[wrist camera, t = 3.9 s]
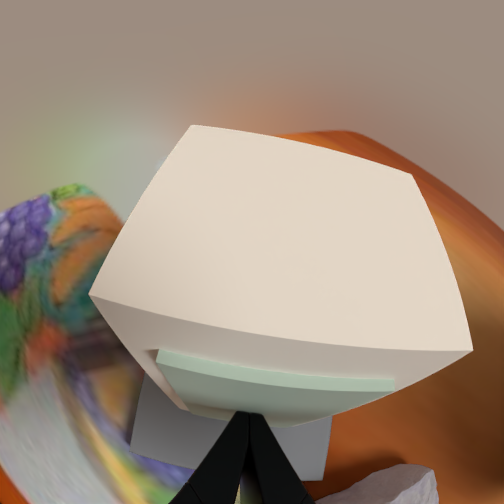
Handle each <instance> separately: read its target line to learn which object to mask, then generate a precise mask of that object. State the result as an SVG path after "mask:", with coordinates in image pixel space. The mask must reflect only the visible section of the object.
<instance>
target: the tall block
mask: <svg viewBox="0 0 504 504" xmlns="http://www.w3.org/2000/svg"><path fill="white" fill-rule="evenodd" d="M88 295H89V296H90V298H91V299H92V301H93V302H94V304H95V305H96V307H97V308H98V310H99V311H100V313H101V314H102V316H103V317H104V319H105V320H106V321H107V323H108V324H109V326H110V327H111V328H112V330H113V331H114V332H115V334H116V335H117V337H118V338H119V339H120V340H121V342H122V343H123V344H124V346H125V347H126V348H127V350H128V351H129V352H130V353H131V355H132V356H133V357H134V358H135V360H136V361H137V362H138V363H139V364H140V366H141V367H142V368H143V369H144V370H145V371H146V373H147V374H148V375H149V376H150V377H151V378H152V380H153V381H154V382H155V383H156V384H157V385H158V386H159V387H160V388H161V390H162V391H163V392H164V393H165V394H166V395H167V396H168V397H169V398H170V399H171V400H172V401H173V402H174V403H175V404H176V405H177V406H178V407H179V408H180V409H182V410H187V411H190V412H191V413H192V414H194V415H199V416H203V417H208V418H214V419H219V420H225V421H230V419H231V418H232V416H233V415H234V413H235V412H236V411H244V412H248V413H249V414H250V413H259V414H262V415H263V416H264V418H265V419H266V421H267V423H268V425H269V427H279V428H287V427H291V426H296V425H300V424H304V423H308V422H312V421H315V420H319V419H322V418H326V417H329V416H332V415H335V414H338V413H341V412H344V411H347V410H350V409H353V408H356V407H359V406H361V405H364V404H367V403H369V402H372V401H375V400H377V399H380V398H382V397H384V396H387V395H389V394H392V393H394V392H396V391H398V390H401V389H403V388H405V387H407V386H409V385H412V384H414V383H416V382H418V381H420V380H422V379H424V378H426V377H428V376H430V375H432V374H434V373H435V372H437V371H439V370H441V369H443V368H445V367H446V366H448V365H450V364H452V363H453V362H455V361H457V360H458V359H460V358H462V357H463V356H465V355H467V354H468V353H470V352H472V351H473V346H472V341H471V336H470V331H469V327H468V322H467V318H466V314H465V310H464V306H463V303H462V299H461V295H460V292H459V289H458V285H457V282H456V279H455V276H454V273H453V270H452V267H451V264H450V261H449V258H448V255H447V253H446V250H445V247H444V245H443V242H442V239H441V237H440V234H439V232H438V230H437V227H436V225H435V223H434V220H433V218H432V216H431V213H430V211H429V209H428V207H427V205H426V203H425V200H424V198H423V196H422V194H421V192H420V190H419V188H418V186H417V184H416V182H415V180H414V178H413V177H412V175H411V174H408V173H406V172H403V171H400V170H397V169H394V168H391V167H388V166H385V165H382V164H379V163H376V162H373V161H369V160H366V159H363V158H360V157H356V156H353V155H349V154H346V153H342V152H338V151H334V150H331V149H327V148H323V147H319V146H315V145H310V144H306V143H302V142H297V141H293V140H288V139H283V138H278V137H273V136H267V135H262V134H256V133H250V132H244V131H237V130H231V129H224V128H216V127H208V126H199V125H191V126H190V127H189V129H188V130H187V131H186V133H185V134H184V135H183V137H182V138H181V139H180V141H179V142H178V144H177V145H176V146H175V147H174V149H173V150H172V152H171V153H170V154H169V156H168V157H167V159H166V160H165V162H164V163H163V164H162V166H161V167H160V169H159V170H158V172H157V173H156V175H155V176H154V178H153V179H152V181H151V182H150V184H149V185H148V187H147V188H146V190H145V192H144V193H143V195H142V196H141V198H140V199H139V201H138V203H137V204H136V206H135V208H134V209H133V211H132V213H131V214H130V216H129V218H128V219H127V221H126V223H125V224H124V226H123V228H122V230H121V231H120V233H119V235H118V237H117V238H116V240H115V242H114V244H113V246H112V248H111V250H110V251H109V253H108V255H107V257H106V259H105V261H104V263H103V265H102V267H101V269H100V271H99V273H98V275H97V277H96V279H95V281H94V283H93V285H92V287H91V289H90V292H89V294H88Z"/></svg>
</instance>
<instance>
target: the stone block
mask: <svg viewBox="0 0 504 504" xmlns="http://www.w3.org/2000/svg"><path fill="white" fill-rule="evenodd" d="M436 486H437V484H436V479H435V475H434V471H433V470H432V469H430V468H428V467H425V466H422V465H417V464H398V465H395V466H393V467H390V468H387V469H384V470H379V471H377V472H373V473H371V474H370V475H369V476H367V477H366V478H364V479H363V480H361V481H359V482H356V483H355V484H353V485H352V486H351V487H350V488H348V489H346V490H343V491H341V492H339V493H334V494H332V495H328V496H326V497H324V498H321V499H319V500H317V501H315V503H316V504H438V501H439V498H438V492H437V490H436Z"/></svg>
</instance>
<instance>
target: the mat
mask: <svg viewBox="0 0 504 504" xmlns="http://www.w3.org/2000/svg"><path fill="white" fill-rule="evenodd" d="M332 416H333V415H332ZM332 416H329V417H326V418H322V419H319V420H315V421H312V422H308V423H304V424H300V425H296V426H291V427H287V428H279V427H270V428H271V430H272V432H273V434H274V436H275V437H276V439H277V441H278V443H279V444H280V446H281V448H282V450H283V451H284V453H285V455H286V456H287V458H288V460H289V461H290V463H291V465H292V466H293V468H294V470H295V471H296V473H297V475H298V476H299V478H300V480H301V481H317V480H322V479H323V474H324V469H325V463H326V457H327V451H328V445H329V439H330V432H331V424H332ZM228 423H229V421H225V420H219V419H214V418H208V417H203V416H199V415H194V414H192V413H191V412H190V411H187V410H182V409H180V408H179V407H178V406H177V405H176V404H175V403H174V402H173V401H172V400H171V399H170V398H169V397H168V396H167V395H166V394H165V393H164V392H163V391H162V390H161V388H160V387H159V386H158V385H157V384H156V383H155V382H154V381H153V380H152V378H151V377H150V376H149V375H148V374H147V373H146V371H145V373H144V378H143V382H142V387H141V391H140V396H139V401H138V406H137V411H136V416H135V422H134V427H133V433H132V439H131V445H130V451H129V452H132V453H135V454H138V455H141V456H144V457H147V458H150V459H154V460H157V461H161V462H164V463H168V464H172V465H176V466H180V467H184V468H189V469H194V470H196V469H197V467H198V466H199V465H200V463H201V462H202V460H203V459H204V458H205V456H206V455H207V453H208V452H209V450H210V449H211V448H212V446H213V445H214V443H215V442H216V440H217V439H218V437H219V436H220V434H221V433H222V432H223V430H224V429H225V427H226V426H227V424H228Z"/></svg>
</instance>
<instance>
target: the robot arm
mask: <svg viewBox="0 0 504 504" xmlns="http://www.w3.org/2000/svg"><path fill="white" fill-rule="evenodd" d="M239 484H240V503H241V504H316V503H315V501H314V500H313V498H312V497H311V495H310V494H307V493H308V491H307V489H306V488H305V486H304V484H303V483H302V481H301V480H300V478H299V476H298V475H297V473H296V471H295V470H294V468H293V466H292V465H291V463H290V461H289V460H288V458H287V456H286V455H285V453H284V451H283V450H282V448H281V446H280V444H279V443H278V441H277V439H276V437H275V436H274V434H273V432H272V430H271V428H270V427H269V425H268V423H267V421H266V419H265V418H264V416H263V415H262V414H259V413H250V414H249V413H248V412H244V411H236V412H235V413H234V415H233V416H232V418H231V419H230V421H229V423H228V424H227V426H226V427H225V429H224V430H223V432H222V433H221V434H220V436H219V437H218V439H217V440H216V442H215V443H214V445H213V446H212V448H211V449H210V450H209V452H208V453H207V455H206V456H205V458H204V459H203V460H202V462H201V463H200V465H199V466H198V467H197V469H196V470H195V471H194V473H193V474H192V475H191V477H190V478H189V480H188V482H186V483H185V485H184V486H183V487H182V488H181V490H180V491H179V492H178V493H177V495H176V496H175V497H174V498H173V499H172V500H171V502H169V503H168V504H234V503H235V500H236V496H237V492H238V488H239Z"/></svg>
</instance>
